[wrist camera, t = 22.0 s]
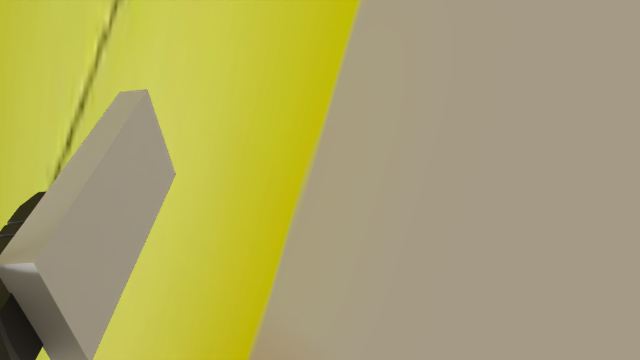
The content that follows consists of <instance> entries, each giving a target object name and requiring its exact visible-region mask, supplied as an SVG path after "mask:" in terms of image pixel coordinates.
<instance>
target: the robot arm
mask: <svg viewBox="0 0 640 360" xmlns="http://www.w3.org/2000/svg"><path fill="white" fill-rule="evenodd" d="M175 175H176V174H175V171H174V168H173V165H172V162H171V159H170V156H169V153H168V150H167V147H166V144H165V141H164V138H163V135H162V132H161V129H160V126H159V123H158V120H157V117H156V114H155V111H154V108H153V105H152V102H151V99H150V96H149V93H148V90H147V89H145V90H135V91H125V92H119V94H118V95H117V97H116V98H115V99H114V101H113V102H112V103H111V105H110V106H109V107H108V109H107V110H106V112H105V113H104V114H103V116H102V117H101V118H100V120H99V121H98V122H97V124H96V125H95V126H94V128H93V129H92V131H91V132H90V133H89V135H88V136H87V137H86V139H85V140H84V141H83V143H82V144H81V146H80V147H79V148H78V150H77V151H76V152H75V154H74V155H73V156H72V158H71V159H70V161H69V162H68V163H67V165H66V166H65V167H64V169H63V170H62V171H61V173H60V174H59V176H58V177H57V178H56V180H55V181H54V182H53V184H52V185H51V186H50V188H49V189H48V191H47V192H38V193H37V194H35V195H34V196H33V197H31V198H30V199H29V200H28V201H26V202H25V203H24V204H22V205H21V206H20V207H19V208H18V209H17V210H16V212H15V213H14V214H13V216H12V217H11V218H10V220H9V221H8V222H7V223H8V225H5V226H4V227H3V229H2V230H1V231H0V360H35V359H36V358H37V356H38V354H39V352H40V350H41V349H42V347H43V348H44V349H45V351H46V353H47V354H48V356H49V358H50V359H51V360H92V359H93V357H94V355H95V353H96V350H97V348H98V346H99V344H100V341H101V339H102V337H103V335H104V333H105V330H106V328H107V326H108V324H109V322H110V319H111V317H112V315H113V313H114V310H115V308H116V306H117V304H118V302H119V299H120V297H121V295H122V293H123V290H124V288H125V286H126V284H127V282H128V279H129V277H130V275H131V273H132V270H133V268H134V266H135V264H136V262H137V259H138V257H139V255H140V253H141V250H142V248H143V246H144V244H145V242H146V239H147V237H148V235H149V233H150V230H151V228H152V226H153V224H154V222H155V219H156V217H157V215H158V213H159V210H160V208H161V206H162V204H163V202H164V199H165V197H166V195H167V193H168V190H169V188H170V186H171V184H172V182H173V179H174V177H175Z"/></svg>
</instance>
